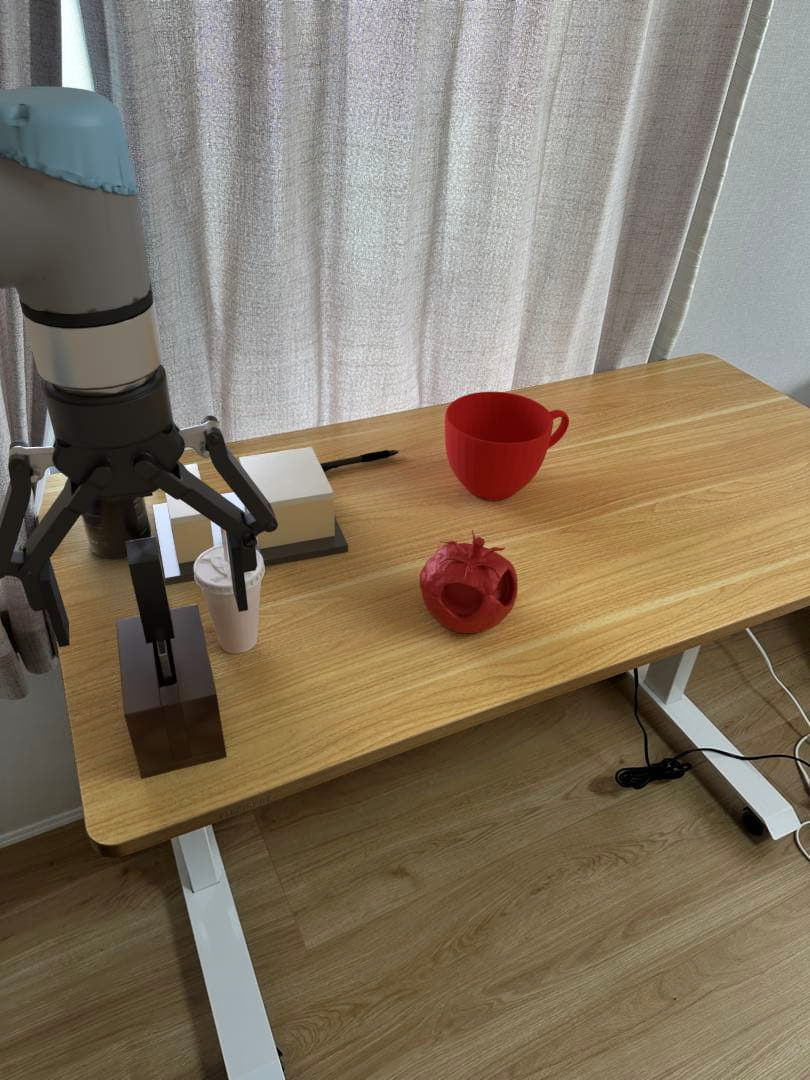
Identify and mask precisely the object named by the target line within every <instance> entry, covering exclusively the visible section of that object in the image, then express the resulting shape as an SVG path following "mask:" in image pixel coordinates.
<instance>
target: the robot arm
mask: <svg viewBox="0 0 810 1080" xmlns="http://www.w3.org/2000/svg"><path fill="white" fill-rule="evenodd" d="M139 194H140V186H139V184H138V183H137V182H136V178H135V172H134V168H133V163H132V159H131V154H130V151H129V144H128V140H127V136H126V130H125V126H124V122H123V118H122V115H121V112H120V111H119V108H118V107H117V106H116V105H114V104H113V103H112V101H110V100H109V99H108V98H107V97H105V96H104V95H102V94H101V93H98V92H96V91H93V90H90V89H85V88H77V87H69V86H49V85H47V86H43V85H41V86H21V87H15V88H10V89H1V88H0V290H4V289H15V290H16V292H17V295H18V301H19V305H20V308H21V314H22V318H23V322H24V325H25V329H26V333H27V338H28V341H29V344H30V348H31V351H32V355H33V358H34V363H35V365H36V370H37V373H38V375H39V376H40V377H41V378H42V381H41V389H42V393H43V396H44V400H45V405H46V408H47V412H48V415H49V420H50V423H51V427H52V431H53V435H54V443H53V444H52V446H33V447H32V446H31V447H30V445H29V444H28V443H27V442H26V441H25V440H20V439H17V440H14V441H12V442H11V443H10V445H9V447H8V448H9V450H8V462H7V470H8V476H9V482H8V485H7V489H6V493H5V496H4V499H3V503H2V506H1V510H0V580H1V579H4V578H5V577H14V578H16V579H18V580H19V581H20V583H21V585H22V588H23V590H24V593H25V597H26V599H27V603H28V605H29V608H30V609H31V610H32V611H33V612H41V611H45V610H46V611H47V614H48V617H49V620H50V624H51V627H52V631H53V633H54V636H55V640H56V642H57V646H58V648H63V647H69V646H70V645H71V644H70V643H71V641H70V621H69V618H68V614H67V610H66V607H65V603H64V601H63V597H62V594H61V591H60V587H59V583H58V581H57V577H56V574H55V570H54V568H53V564H52V560H51V557H52V556H53V554H55V551H56V550H57V549H58V548H59V546H60V545H61V544H62V542H63V541H64V539H65V538H66V536H67V535H68V534H69V532H70V530H71V529H72V528H73V527H74V525H75V523H76V522H77V521H78V520H79V518H80V517H81V515H84V514H85V513H86V511H87V510H88V508H89V507H90V506H91V504H92V503H93V501H94V500H95V499H96V498H99V499H103V500H106V503H109V502H116V501H120V500H122V499H125V498H127V497H141V498H142V497H144V498H146V497H147V498H148V497H153V496H154V495H153V493H156V492H157V491H158V490H161V491H162V492H164V494H165V493H167V494H168V495H170V496H171V497H173V498H174V499H176V500H179V499H180V500H182V501H183V502H185V503H186V504H188V505H189V506H190V507H192V508H193V509H195V510H196V511H198V512H199V513H201V514H202V515H203V516H205V517H206V518H208V519H209V520H211V521H212V522H213V523H215V524H216V525H218V526H219V527H221V528H222V529H224V530H225V531H226V537H227V545H228V553H229V561H230V569H231V577H232V585H233V592H234V596H235V599H236V603H237V607H238V611H239V612H242V611H247V610H248V604H247V595H246V586H245V577H244V573H245V572H250V571H255V570H256V567H257V557H256V547H255V546H256V545H257V539H256V537H257V535H259V534H260V533H262V532H264V531H265V532H273V531H275V530H276V529H277V527H278V523H277V520H276V517H275V514H274V511H273V509H272V506H271V504H270V503H269V501H268V500H267V499H266V497H265V496H264V495H263V493H262V492H261V491H260V489H259V488H258V487H257V485H256V484H255V483H254V481H253V480H252V479H251V477H250V476H249V475H248V473H247V472H246V471H245V469H244V468H243V467H242V466H241V464H240V462H239V459H237V458H236V456H235V455H234V453H233V452H232V451H231V449H230V448H229V447H228V446H227V444H226V442H225V437H224V434H223V431H222V429H221V425H220V421H219V420H218V418H217V417H216V416H215V415H210V414H209V415H206V416H204V417H203V418H202V419H201V421H200V424H198V425H193V426H189V427H185V428H179V426H177V424H176V423H175V421H174V415H173V409H172V403H171V395H170V391H169V384H168V378H167V372H166V369H165V367H164V365H162V363H163V360H164V352H163V346H162V340H161V332H160V328H159V327H160V326H159V320H158V314H157V307H156V302H155V297H154V295H153V289H152V282H151V274H150V268H149V267H150V266H149V262H148V254H147V248H146V241H145V240H146V239H145V233H144V225H143V220H142V213H141V205H140V199H139ZM187 448H189V449H193V450H194V451H195V452H196V453H197V454H198V456H200V457H202V458H204V459H208V458H210V461H211V463H212V465H213V467H214V468H215V470H216V472H217V473H218V474H219V475H220V477H221V479H223V481H224V482H225V483H226V484H227V486H228V487H229V488H230V489H231V492H234V493H235V494H236V496H237V497H238V498H239V499H240V501H241V502H242V503H243V505H244V506H245V507H246V508H247V510H248V511H249V513H245V512H244V511H243V510H241V509H240V508H238V507H237V506H236V505H234V504H233V503H232V502H230V501H229V500H227V499H226V498H225V497H223V496H222V495H221V494H222V493H219V492H218V491H217V490H215V489H214V488H212V487H211V486H210V485H208V484H207V483H206V482H204V481H203V480H202V479H201V480H200V479H199V478H197V477H196V476H195V475H193V474H192V473H191V472H189V471H188V470H187V469H186V468H185V466H184V465H185V464H183V463H182V462H181V461H180V459H181V457H182V456H183V454H184V452H185V449H187ZM51 467H52V468H53V467H54V468H55V469H56V470H57V471H58V472H60V473H61V474H62V475H64V476H65V477H66V478H67V479H66V481H65V483H64V486H63V488H62V490H61V491H60V493H59V494H58V496H57V498H55V500H54V501H53V503H52V504H51V506H50V507H49V509H48V510H47V511H46V512H45V515H44V516H42V518H41V520H40V521H39V523H38V525H37V526H36V527H35V528H34V530H33V532H32V533H31V535H30V536H29V537H28V539H27V540H26V542H25V543H24V545H23V546H22V545H19V547H18V550H15V548H16V545H17V542H18V540H19V539H18V538H19V536H20V532H21V529H22V526H23V523H24V519H25V517H26V513H27V510H28V507H29V505H30V500H31V496H32V488H33V487H32V485H33V484H36V483H38V482H39V481H41V480H42V479H43V478H44V477H45V472H46V471H47V470H48V469H49V468H51Z"/></svg>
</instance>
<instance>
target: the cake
mask: <svg viewBox="0 0 810 1080" xmlns="http://www.w3.org/2000/svg"><path fill="white" fill-rule="evenodd" d="M238 462H239V463H240V464H241V466H242V467H243V468H244V469H245V471H246V472H247V473H248V475H249V476H250V477H251V479H252V480H253V481H254V483H255V484H256V485H257V487H258V488H259V489H260V491H261V492H262V493H263V495H264V496H265V497H266V499H267V500H268V501H269V503H270V504H271V506H272V509H273V511H274V514H275V517H276V520H277V523H278V527H277V529H276V530H275V531H273V532H265V531H264V532H262V533H260V534H259V535H257V537H256V539H257V543H258V546H259V549H263V548H269V547H275V546H280V545H286V544H291V543H297V542H303V541H308V540H314V539H319V538H325V537H331V536H335V525H334V516H335V491H334V490H333V488H332V486H331V484H330V482H329V480H328V477H327V476H326V473H325V472H324V471H323V469H322V467H321V465H320V463H321V462H320V461H319V459H318V457H317V455H316V453H315V451H314V449H313V447H312V446H308V447H307V446H306V447H300V448H294V449H293V448H292V449H286V450H280V451H279V450H278V451H272V452H267V453H259V454H252V455H245V456H239V457H238ZM246 509H247V508H246ZM247 512H248V513H249V511H248V510H247Z"/></svg>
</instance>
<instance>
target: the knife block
mask: <svg viewBox="0 0 810 1080" xmlns="http://www.w3.org/2000/svg"><path fill="white" fill-rule="evenodd" d="M170 612H171V617H172V623H173V629H174V635H175V638H173V639H168V640H167V645H168V650H169V655H170V660H171V665H172V670H173V674H174V679H175V685H170V686H165V682H164V677H163V672H162V668H161V663H160V659H159V653H158V646H157V642H153V643H148V644H147V643H146V640H145V636H144V631H143V627H142V623H141V618H140V615H135V616H134V615H133V616H130V617H125V618H118V619H116V620H115V629H116V630H115V631H116V642H117V652H118V663H119V665H118V666H119V674H120V684H121V685H120V686H121V698H122V709H123V716H124V719H125V723H126V727H127V731H128V735H129V739H130V742H131V745H132V749H133V753H134V756H135V760H136V764H137V767H138V771H139V776H140V778H141V779H146V778H151V777H152V776H157V775H161V774H167V773H170V772H173V771H177V770H181V769H185V768H190V767H194V766H198V765H202V764H206V763H209V762H214V761H218V760H222V759H225V758H227V757H228V756H227V755H228V754H227V750H226V749H227V748H226V742H225V737H224V731H223V724H222V718H221V712H220V707H219V699H218V693H217V688H216V684H215V683H216V682H215V680H214V674H213V670H212V666H211V661H210V656H209V651H208V646H207V642H206V641H207V640H206V637H205V632H204V627H203V623H202V618H201V613H200V609H199V604H198V603H195V604H191V605H190V604H189V605H186V606H180V607H176V608H175V607H174V608H170Z"/></svg>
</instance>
